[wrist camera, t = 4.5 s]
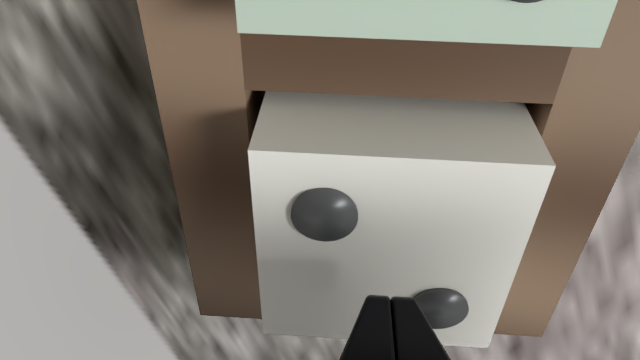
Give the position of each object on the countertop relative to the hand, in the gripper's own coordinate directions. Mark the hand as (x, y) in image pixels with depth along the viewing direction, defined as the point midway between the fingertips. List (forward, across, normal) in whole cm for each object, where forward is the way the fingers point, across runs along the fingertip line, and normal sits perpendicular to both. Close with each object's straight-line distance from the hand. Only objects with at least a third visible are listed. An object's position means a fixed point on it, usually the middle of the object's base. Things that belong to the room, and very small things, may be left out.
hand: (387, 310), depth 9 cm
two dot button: (+4, 0, 0) cm, 4 cm away
